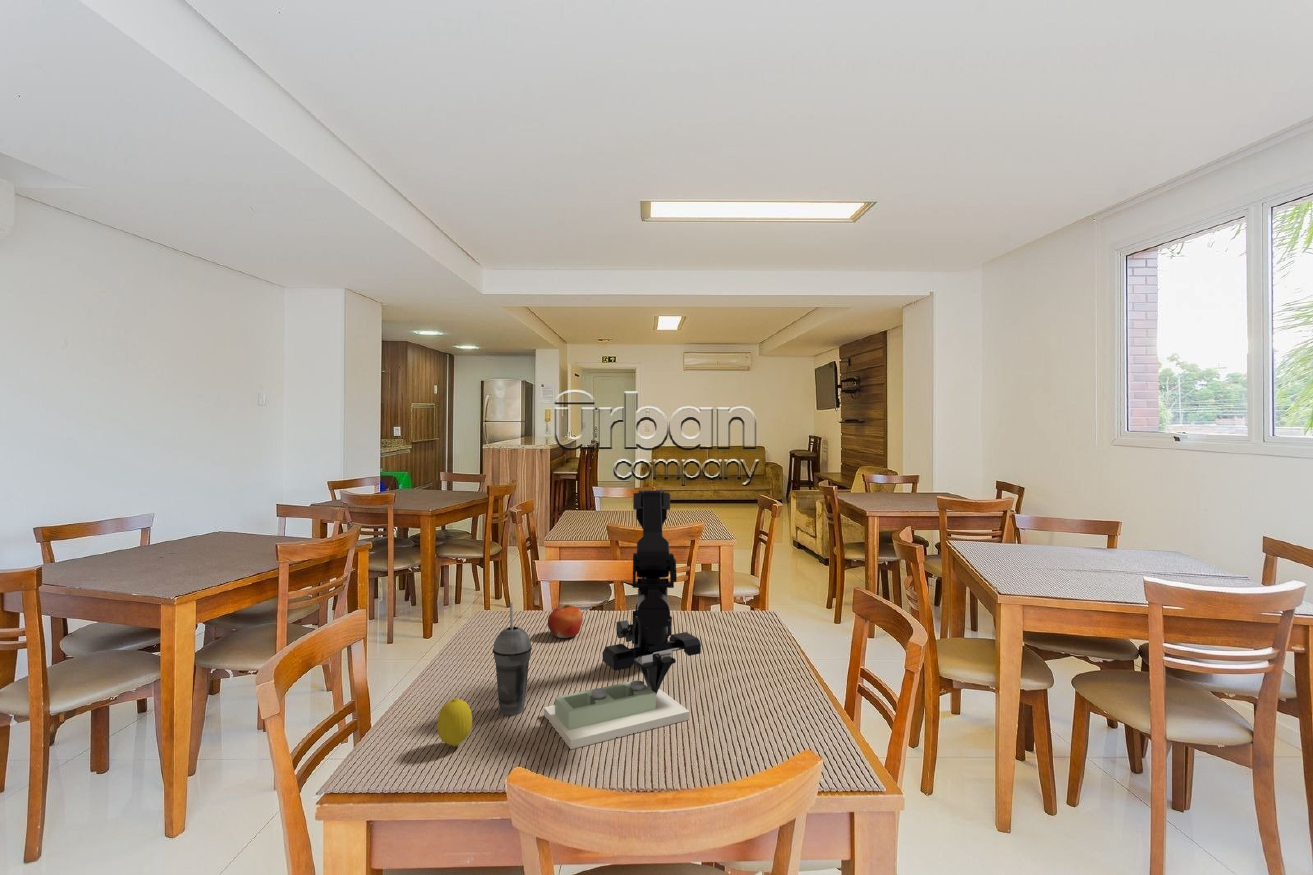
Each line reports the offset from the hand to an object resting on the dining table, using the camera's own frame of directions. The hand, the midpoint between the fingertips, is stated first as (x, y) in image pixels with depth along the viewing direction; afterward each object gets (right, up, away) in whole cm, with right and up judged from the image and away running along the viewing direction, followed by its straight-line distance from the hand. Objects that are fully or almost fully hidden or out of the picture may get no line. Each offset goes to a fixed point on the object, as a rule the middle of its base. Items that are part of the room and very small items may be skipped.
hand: (652, 695), depth 115 cm
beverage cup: (-27, -3, -1) cm, 27 cm away
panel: (-9, -1, -5) cm, 10 cm away
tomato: (-23, -3, +43) cm, 49 cm away
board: (-7, -3, -4) cm, 8 cm away
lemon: (-33, -3, -14) cm, 36 cm away
